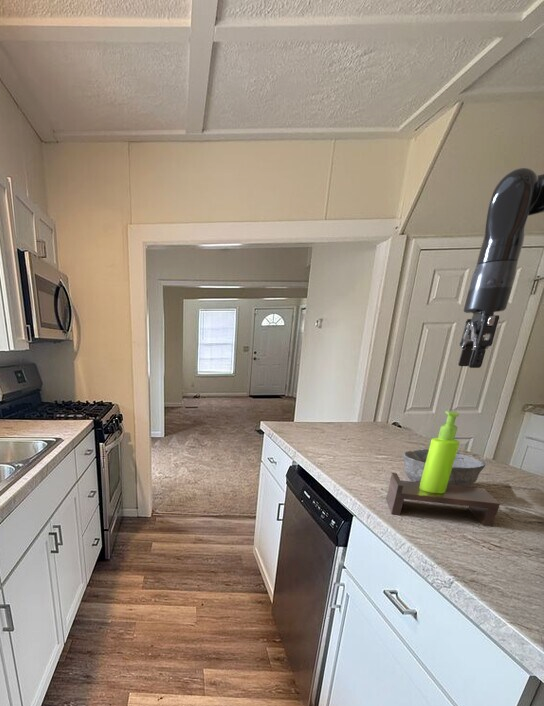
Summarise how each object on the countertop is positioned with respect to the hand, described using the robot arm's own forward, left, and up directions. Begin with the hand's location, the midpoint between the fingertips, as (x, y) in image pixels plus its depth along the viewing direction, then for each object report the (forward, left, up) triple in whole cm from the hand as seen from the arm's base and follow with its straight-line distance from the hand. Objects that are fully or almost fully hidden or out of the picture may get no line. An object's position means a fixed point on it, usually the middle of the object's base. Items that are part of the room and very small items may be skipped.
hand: (468, 366), depth 93 cm
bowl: (-5, -22, -37) cm, 43 cm away
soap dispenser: (+1, -1, -31) cm, 31 cm away
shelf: (-1, -1, -37) cm, 37 cm away
